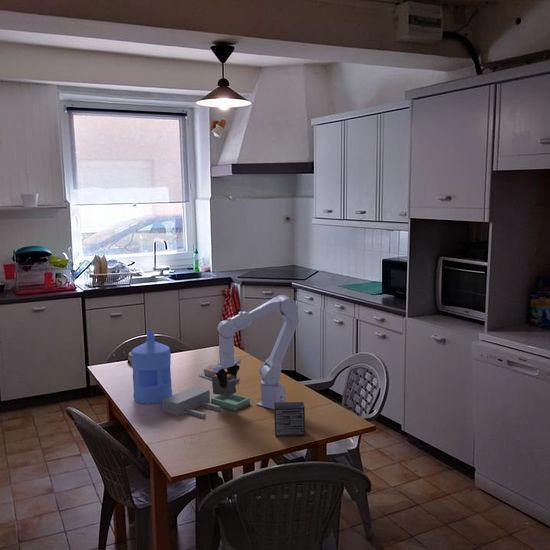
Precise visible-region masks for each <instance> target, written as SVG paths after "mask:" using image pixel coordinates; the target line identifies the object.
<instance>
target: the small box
mask: <svg viewBox="0 0 550 550" xmlns="http://www.w3.org/2000/svg"><path fill="white" fill-rule="evenodd" d="M305 410H306V407H305V404H304V401H285V402H276V403H274V409H273V411H274V435H275V437H277V438H278V437H280V438H281V437H283V436H285V437H305V436H306V419H305V417H306V415H305V414H306V413H305ZM283 438H284V437H283Z"/></svg>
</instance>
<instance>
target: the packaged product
mask: <svg viewBox="0 0 550 550" xmlns="http://www.w3.org/2000/svg"><path fill="white" fill-rule="evenodd" d="M216 365H217V364H216ZM216 365H215V364H210V365H209V366H207V367H205V368H204V369H203V373H201V374H198V377H200V378H203V379H207V380H210V381H211V382H212V376H214V375H216V374H215V372H213V367H214V366H216ZM224 370H225V371H227V368H226V369H224ZM240 379H241V378H240V376H238V375H236V378H235V382H238V381H240ZM237 380H238V381H237Z"/></svg>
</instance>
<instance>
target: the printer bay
mask: <svg viewBox="0 0 550 550" xmlns="http://www.w3.org/2000/svg"><path fill="white" fill-rule="evenodd" d="M210 394H211V393H210V389H206V388H203V387H199V386H193V387H190V388H187V389H185V390H182V391H179V392H177V393H175V394H172V396H170V397H167V398H164V399H163V402H162V412H163V411H164V412H163V413H166V412H167V413H166V414H169V413H170V415H172V414H173V416H176V417H178V416H181V415H183V414H189V415H191V416H194V417H198V418H202V419H205V418H206V416H207V415H206V412H205V413H204V412H202V411H199V410H196V408H199V407H203V408H207V409H211V410H213V411H218V412H220V411H221V410H222V407H221V406H217V405H214V404H211V398H210V397H211V395H210Z"/></svg>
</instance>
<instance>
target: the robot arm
mask: <svg viewBox="0 0 550 550" xmlns="http://www.w3.org/2000/svg"><path fill="white" fill-rule="evenodd" d="M298 311H299V306H298V304H297V303H296V301H295V300H294V299H293V298H290V297H288V296H287V295H286V294H280V295H277V296H275V297H273V298H271V299H270V300H268V301H266V302H265V303H263V304H260V305H259V306H257V307H256V308H254V309H253V310H250V311H249V312H248V311H244V310H243V311H238V313H237V314H236V315H234V316H232V317H228V318H227V320H226V319H225V320H221V321H220V322H219V323H218V325H217V327H216V330H217V333H218V338H219V339H218V349H219V350H218V353H219V359H218V360H219V361H217V364H216V366H214V367H213V372H215V374H216V375H217V377H218V380H219V382H220V386H221V387H222V388H226V381H227V375H228V374H232V375H234V376H235V378H236V375H237V374H238V372H239V370H240V368H241V367H240V364H242V363H241V358H239V357H236V358H235V341H234V335H235V334H236V333H237V332H239V331H241V330H243V329H245V328H247V327H249V326H250V325H252V323H253V321H254V320H255V319H258V318H260V317H262V316H264V315H266V314H269V313H271V312H272V313H277V314H278V313H280V314H281V316H282V318H283V321H284V322H283V324H282V326H281V328H280V331H279V334H278V336H277V338H276V341H275V343H274V345H273V348H272V351H271V352H270V354H269V357H267V358H266V359H265V362H264V363H263V364H262V365H261V366H260V367H259V370H258V371H259V375H260V376H261V380H260V401H259V402H256V405H257V406H259V407H260V406H261V407H264V408H266V409H267V408H268V409H271V410H274V403H276V402H286V387H285V386H284V385H282V384H281V383H280V381H281V372H282V370H283V369H282V368H283V367H282V363H283V360H284V358H285V355H286V353H287V350H288V349H289V348H288V347H289V346H290V344H291V341H292V339H293V337H294V334H295V332H296V329H297V327H298V324H299V321H300V320H299V312H298ZM224 369H227V371H225V370H224ZM237 376H238V375H237Z"/></svg>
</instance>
